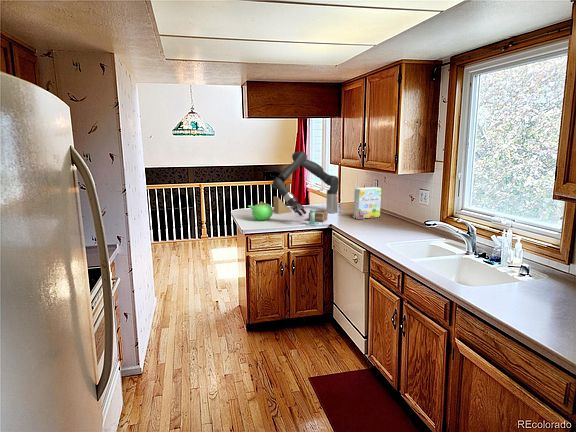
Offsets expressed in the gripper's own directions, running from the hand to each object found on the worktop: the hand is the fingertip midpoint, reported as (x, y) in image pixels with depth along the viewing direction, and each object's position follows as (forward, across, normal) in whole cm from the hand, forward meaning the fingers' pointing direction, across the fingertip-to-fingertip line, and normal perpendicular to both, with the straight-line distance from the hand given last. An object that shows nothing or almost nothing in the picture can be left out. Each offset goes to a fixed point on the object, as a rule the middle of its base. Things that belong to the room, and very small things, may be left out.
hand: (303, 214), depth 312 cm
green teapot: (-21, +1, +32) cm, 38 cm away
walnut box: (+10, +17, +1) cm, 19 cm away
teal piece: (+10, 0, 0) cm, 11 cm away
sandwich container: (-19, +37, +30) cm, 51 cm away
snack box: (+34, +41, -24) cm, 58 cm away
